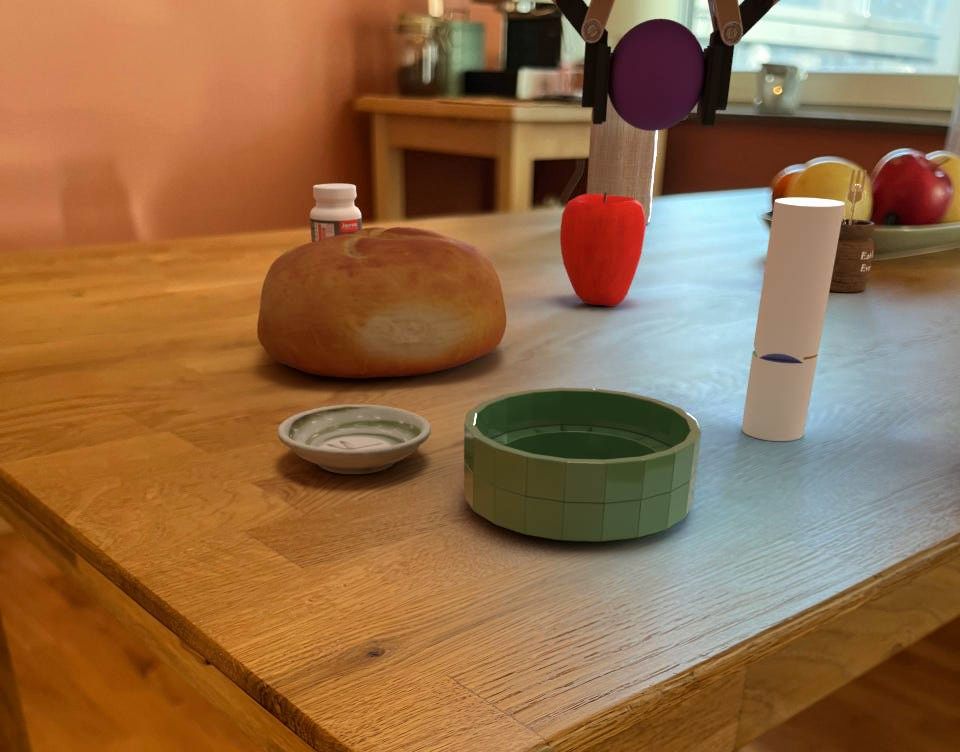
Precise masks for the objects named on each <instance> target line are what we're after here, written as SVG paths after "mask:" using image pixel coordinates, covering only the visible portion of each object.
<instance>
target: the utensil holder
mask: <svg viewBox="0 0 960 752" xmlns="http://www.w3.org/2000/svg"><path fill="white" fill-rule="evenodd" d="M861 172H862V170H861V169H858V170H857V175H856V180H855V173H856V170H855V169H852V170H851V175H850V181H849V185H848V187H847V188H846V190H845V191H844V193H843V195H842V200H841V202H843V203H845V205H844V211H843V218H842V222H841V227H840V233H839V239H838V244H837V250H836V256H835V261H834V267H833V273H832V278H831V284H830V290H829V292H831V293H832V292H834V293H858V292H862V291H864V290H865V289H866V288H867V285H868V281H869V277H870V274H871V273H870V272H871V269H872V268H871V267H872V262H873V257H874V250H875V245H874V244H875V243H874V241H873V240H872V239H871V237H873V236H874V234H875V223H874V222H873V221H869V220H864V219H861V216H862V214H863V212H864V210H865V207H862V204H864V205H863V206H865V205H866V202H864V203H863V197H864V193H865V197H864V200H866V199H867V192H866V189H865V183H866V177H867V173H868V171H867V169H864V170H863V173H862V179H861V184H860V178H861ZM854 180H855V183H854ZM853 188H854V190H853ZM859 188H860V190H859ZM845 195H846V196H845ZM844 198H845V201H844ZM847 200H848V201H849V202H850V203H851V208H850V214H849V218H846V204H847ZM858 202H860V206H859V209H858V211H857V215H856V217H855V219H854V213H855V207H856V204H857V203H858ZM861 209H862V212H861ZM859 215H860V216H859Z"/></svg>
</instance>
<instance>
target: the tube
mask: <svg viewBox="0 0 960 752" xmlns="http://www.w3.org/2000/svg"><path fill="white" fill-rule="evenodd" d="M845 206H846V205H845V202H844V201H843V202H842V200H841V201H840V200H836V199H828V198H818V197H781V198H780V197H779V198H776V199H774V203H773V208H772V209H773V210H772V217H771V223H770V229H769V237H768V242H767V243H768V244H767V251H766V258H765V265H764V272H763V279H762V285H761V286H762V287H761V292H760V299H759V306H758V312H757V318H756V327H755V332H754V338H753V339H754V340H753V348H754V350H753V351H752V354H751V360H750V367H749V374H748V380H747V387H746V394H745V401H744V409H743V414H742V422H741V431H742V432H743V433H744V434H745V435H747V436H749V437H752V438H755V439H758V440H763V441H771V442H790V441H791V442H792V441H796V440H798V439H801V438H803V436H804V434H805V429H806V423H807V419H808V412H809V406H810V402H811V401H810V400H811V396H812V390H813V384H814V378H815V373H816V368H817V367H816V366H817V361H818V355H819V351H820V350H819V349H820V344H821V339H822V334H823V328H824V322H825V317H826V311H827V306H828V300H829V296H830V295H829V294H830V291H829V290H830V284H831V278H832V273H833V267H834V261H835V256H836V250H837V244H838V239H839V233H840V227H841V222H842V219H843V217H844V207H845Z"/></svg>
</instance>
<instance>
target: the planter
mask: <svg viewBox="0 0 960 752" xmlns="http://www.w3.org/2000/svg"><path fill="white" fill-rule="evenodd" d="M611 55H612V52H611ZM592 114H593V108H591V114H590V115H591V116H590V132H589V133H590V134H589V147H588V163H587V165H588V166H587V167H588V168H587V183H586V194H602V195H604V193H607V195H611V196H621V197H631V198H634V199H636V200H637V201H638V202H639V203H641V205H642V206H643V210H644V213H645V226H647V225H648V224H650V222H651V216H652V208H653V198H654V197H653V195H654V186H655V185H654V184H655V175H656V174H655V173H656V163H657V150H658V142H659V141H658V140H659V130H658V131H646V130H641V129H638V128H635V127H633V126H631V125H630V124H628V123H627V122H625V121H624V120H623V119H622V118H621V117H620V116H619V115H618V114H617V112H616V111H615V109H614V107H613V105H612V103H611V101H610V98H609V95H608V100H607V114H606V122H602V124H593V122H592Z"/></svg>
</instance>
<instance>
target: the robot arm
mask: <svg viewBox="0 0 960 752" xmlns="http://www.w3.org/2000/svg"><path fill="white" fill-rule="evenodd" d="M550 1H551V2H552V3H553V4H554V6H556V7H557V9H558V10H559V12H561V14H562V15H563V16H564V18H565V19H566V20H567V21H568V22H569V24H570V25H571V27H572V28H573V29H574V30H575V31H576V33H577V34H578V35H579V37H580V38H581V39H582V40H583V42H584V55H583V73H582V90H581V108H585V109H587V108H590V109H592V108H593V114H592V122H593V124H602V122H606V114H607V100H608V86H609V72H610V58H611V53H612V46H610V45H609V43H608V42H609V41H608V40H609V31H608V30H607V29H606V26H607V23H608V20H609V18H610V15H611V13H612V10H613V8H614V4H615V2H616V0H590V2H589V4H587V3H586V2H585V1H584V0H550ZM780 1H781V0H743V1H741V3H739V0H707V4H708V9H709V15H710V20H711V25H712V32H711V33H710V34H709V41H708V45H706V47H703V53H704V56H705V62H706V73H705V82H704V87H703V91H702V94H701V96H700V99H699V100H698V102H697V104H696V105H697V106H696V115H695V122H696V123H699V124H698V125H700V126H702V127H704V128H714V126H715V123H716V113H717V111H726V110H727V106H728V101H729V93H730V86H731V77H732V70H733V62H734V61H733V60H734V53H735V46H736V45H737V44H738V43H739V42H740V41H741V40H742V38H743V37H744V36H745V35H746V34H747V33H749V31H750V30H751V29H752V28H753V27H754V26H756V25H757V23H759V21H760V20H762V19H763V17H764V16H766V14H767V13H768V12H770V10H771V9H772V8H773V7H774V6H775V5H777V4H778V3H779V2H780Z"/></svg>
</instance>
